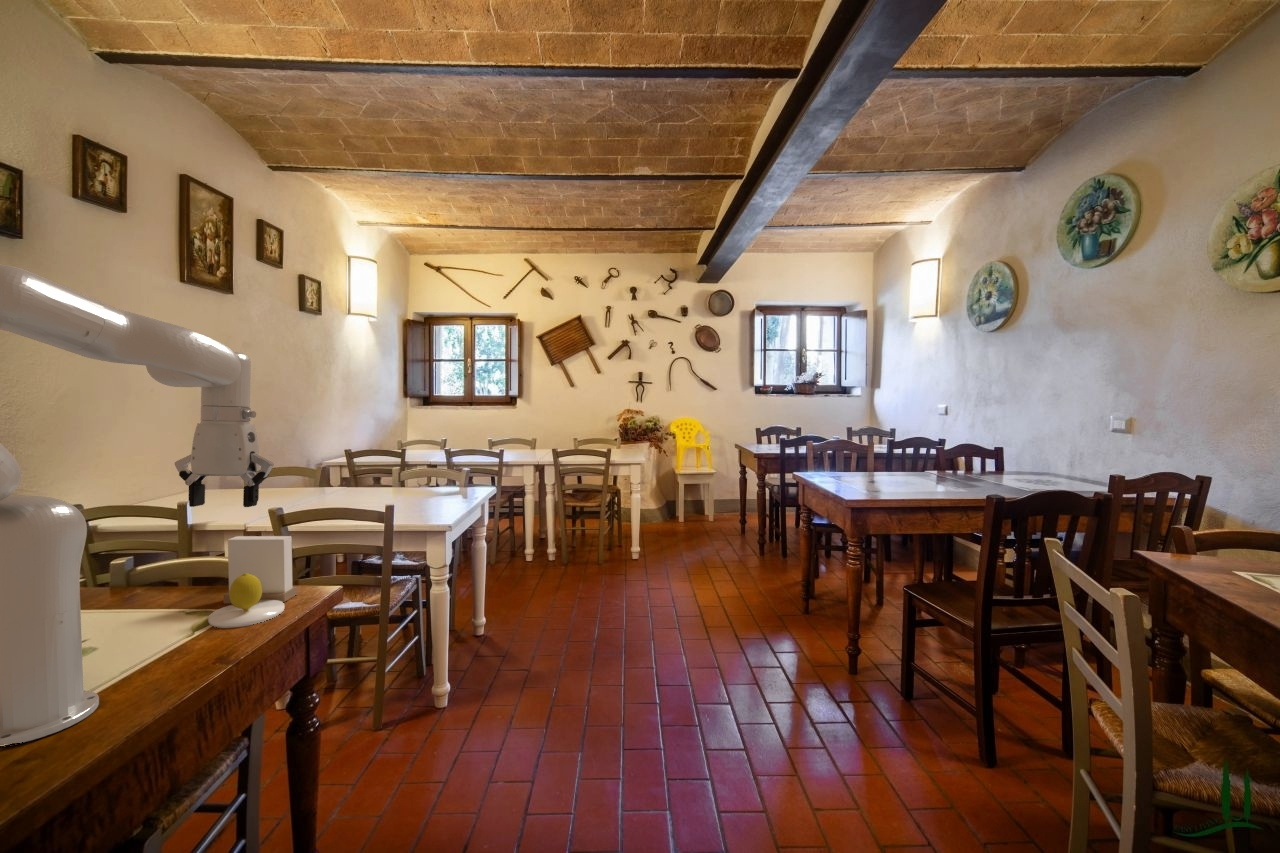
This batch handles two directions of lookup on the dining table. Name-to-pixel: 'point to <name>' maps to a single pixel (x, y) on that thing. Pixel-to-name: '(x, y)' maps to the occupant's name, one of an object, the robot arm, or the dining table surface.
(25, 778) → the dining table surface
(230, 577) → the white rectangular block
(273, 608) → the white round disc
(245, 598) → the lemon
